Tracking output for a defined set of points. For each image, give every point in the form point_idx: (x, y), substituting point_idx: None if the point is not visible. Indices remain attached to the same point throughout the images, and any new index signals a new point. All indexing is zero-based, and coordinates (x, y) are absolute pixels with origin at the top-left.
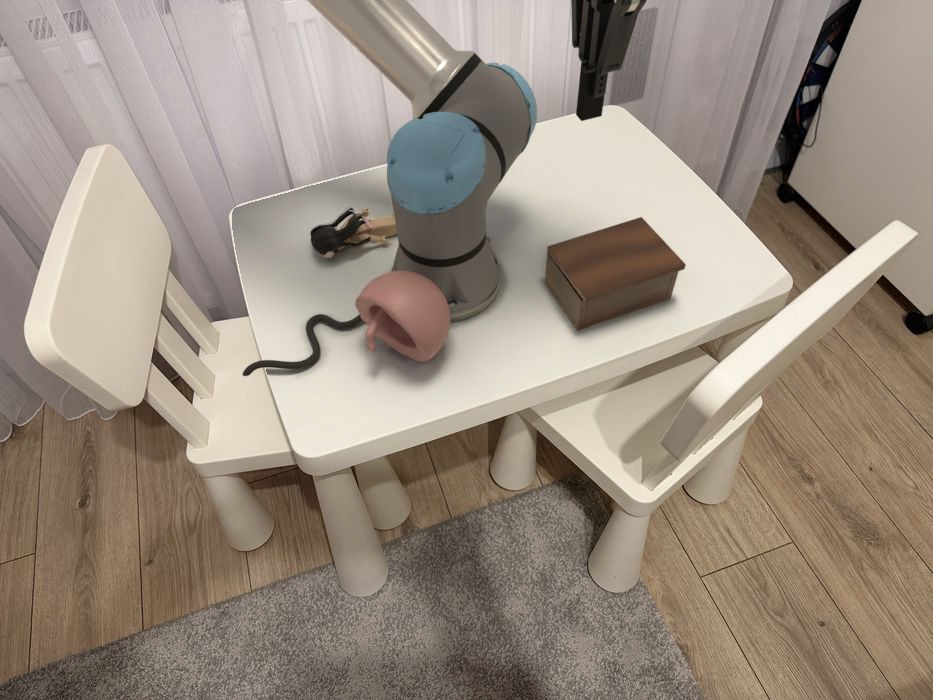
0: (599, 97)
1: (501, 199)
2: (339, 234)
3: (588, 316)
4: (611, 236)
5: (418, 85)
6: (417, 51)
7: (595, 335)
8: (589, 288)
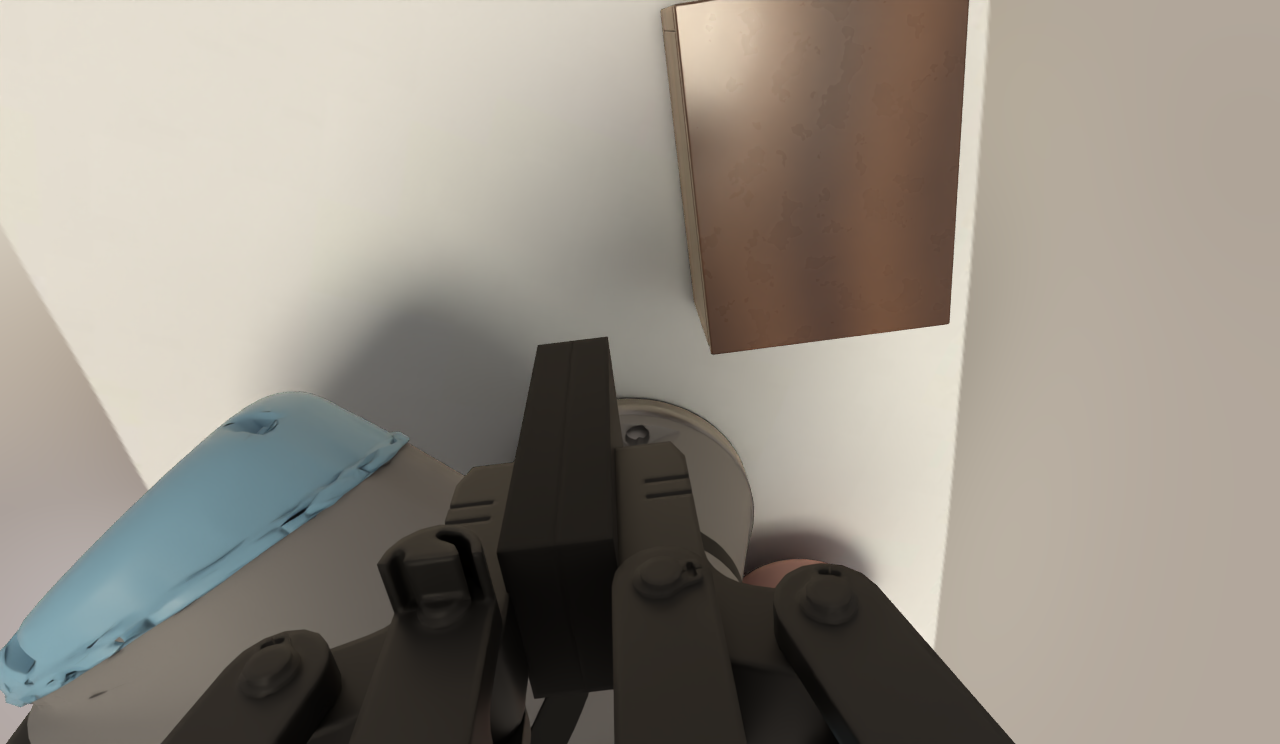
0: (613, 425)
1: (341, 326)
2: None
3: None
4: (738, 157)
5: None
6: None
7: None
8: (923, 303)
